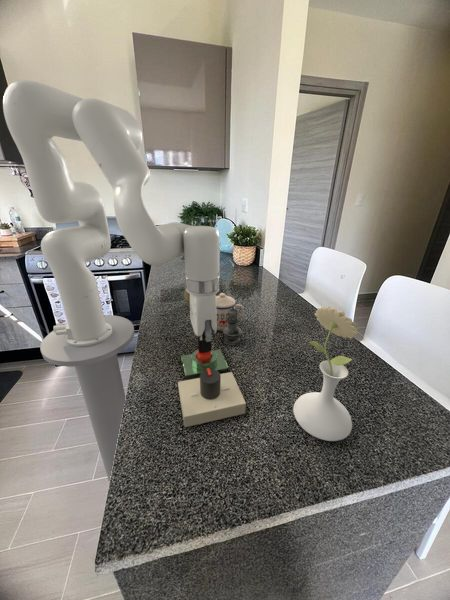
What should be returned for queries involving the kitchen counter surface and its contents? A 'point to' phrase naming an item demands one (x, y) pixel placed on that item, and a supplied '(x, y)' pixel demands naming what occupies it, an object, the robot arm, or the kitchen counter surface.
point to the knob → (210, 384)
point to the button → (203, 356)
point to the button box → (203, 364)
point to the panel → (210, 401)
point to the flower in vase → (327, 385)
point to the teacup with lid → (225, 309)
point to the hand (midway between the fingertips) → (204, 350)
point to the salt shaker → (232, 328)
